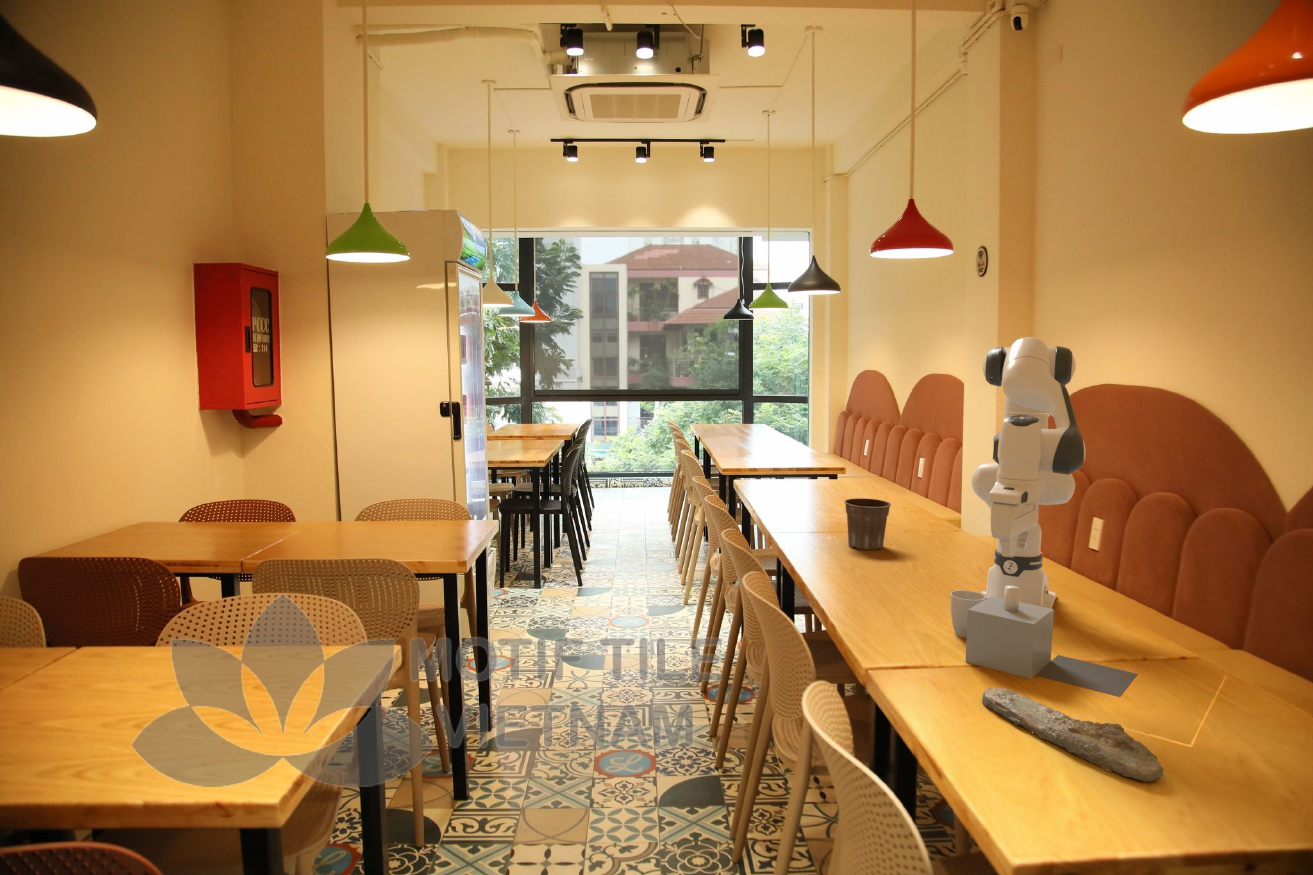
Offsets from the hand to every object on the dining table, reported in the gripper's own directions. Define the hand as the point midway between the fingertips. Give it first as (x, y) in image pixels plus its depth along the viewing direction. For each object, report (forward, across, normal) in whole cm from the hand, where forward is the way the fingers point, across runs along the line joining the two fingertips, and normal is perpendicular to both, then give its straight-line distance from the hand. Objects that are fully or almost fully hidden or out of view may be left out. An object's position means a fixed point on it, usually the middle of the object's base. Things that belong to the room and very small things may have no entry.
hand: (1014, 551), depth 177 cm
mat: (+25, -4, +15) cm, 30 cm away
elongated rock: (+25, +30, +20) cm, 44 cm away
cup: (+26, -12, -14) cm, 31 cm away
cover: (+25, 0, 0) cm, 25 cm away
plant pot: (+27, -79, -76) cm, 113 cm away
